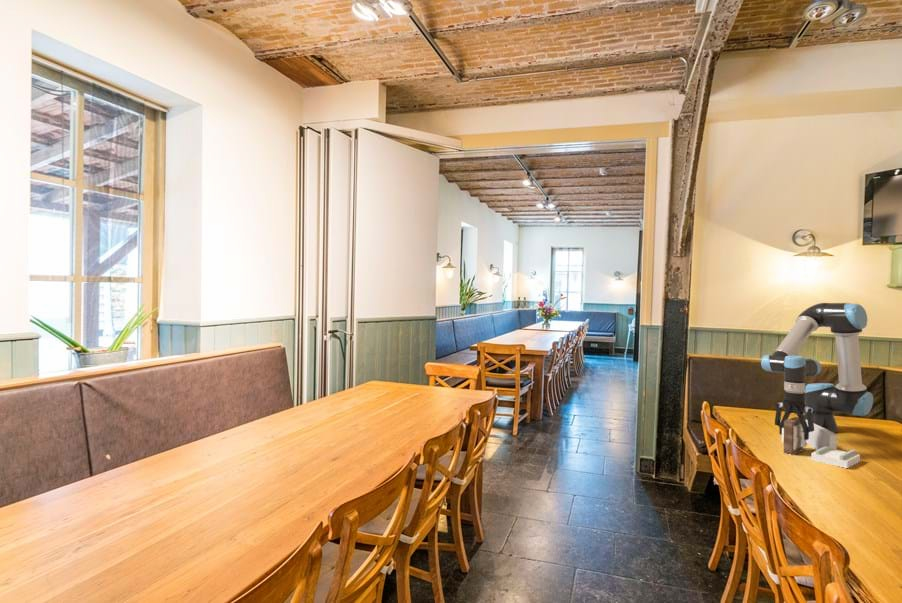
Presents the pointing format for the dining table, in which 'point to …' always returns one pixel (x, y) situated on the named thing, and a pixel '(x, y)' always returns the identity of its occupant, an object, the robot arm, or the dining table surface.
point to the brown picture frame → (792, 435)
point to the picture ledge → (835, 457)
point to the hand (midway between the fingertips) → (793, 444)
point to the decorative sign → (822, 438)
